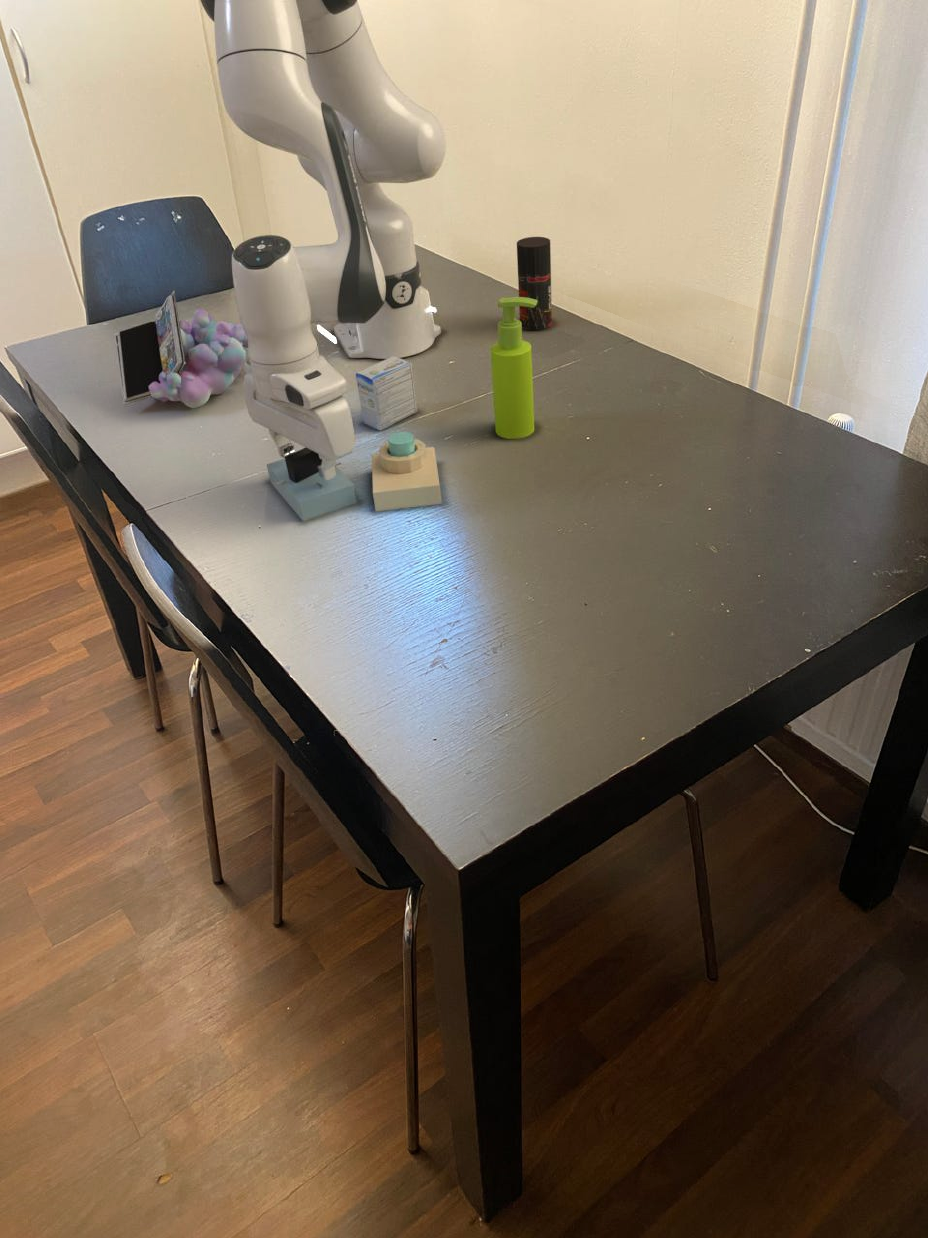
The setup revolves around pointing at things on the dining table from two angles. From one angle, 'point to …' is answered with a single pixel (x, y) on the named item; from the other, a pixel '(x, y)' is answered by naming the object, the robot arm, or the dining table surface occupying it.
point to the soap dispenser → (512, 374)
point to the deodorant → (535, 282)
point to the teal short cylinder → (401, 444)
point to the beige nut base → (405, 478)
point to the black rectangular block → (302, 464)
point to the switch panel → (312, 491)
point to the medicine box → (386, 392)
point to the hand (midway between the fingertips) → (307, 466)
